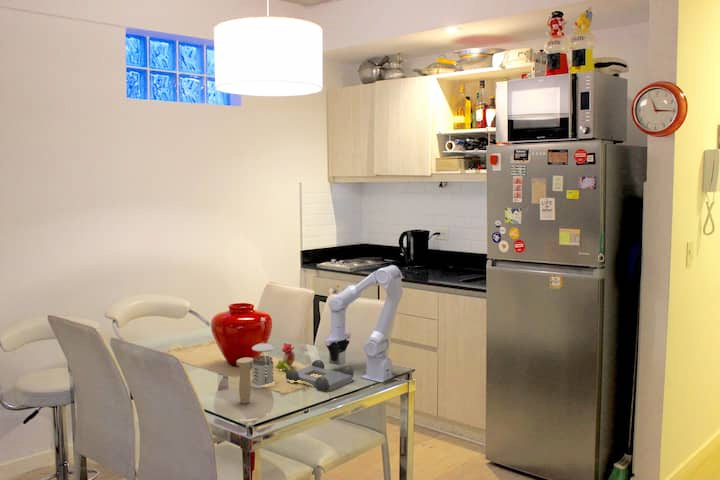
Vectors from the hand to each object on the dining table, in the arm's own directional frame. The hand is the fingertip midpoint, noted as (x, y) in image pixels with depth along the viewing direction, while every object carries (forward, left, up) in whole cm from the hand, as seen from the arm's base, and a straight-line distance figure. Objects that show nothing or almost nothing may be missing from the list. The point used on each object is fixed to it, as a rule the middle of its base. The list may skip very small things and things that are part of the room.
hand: (337, 359), depth 281 cm
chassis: (-3, +15, -5) cm, 16 cm away
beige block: (0, 0, -2) cm, 2 cm away
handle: (+3, +49, -5) cm, 49 cm away
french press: (+11, +31, -5) cm, 33 cm away
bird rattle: (+16, +12, -5) cm, 21 cm away
